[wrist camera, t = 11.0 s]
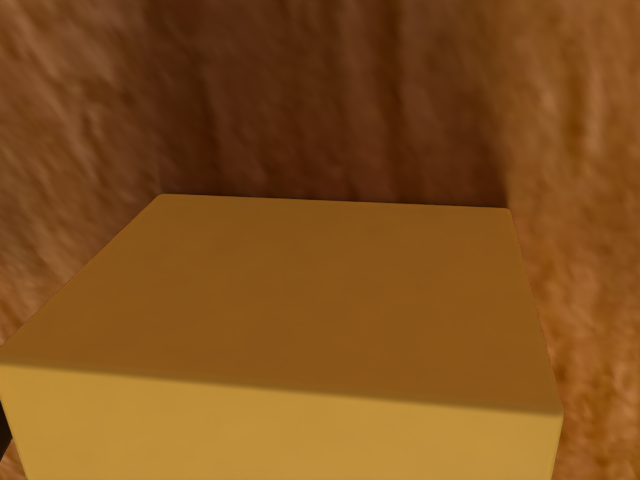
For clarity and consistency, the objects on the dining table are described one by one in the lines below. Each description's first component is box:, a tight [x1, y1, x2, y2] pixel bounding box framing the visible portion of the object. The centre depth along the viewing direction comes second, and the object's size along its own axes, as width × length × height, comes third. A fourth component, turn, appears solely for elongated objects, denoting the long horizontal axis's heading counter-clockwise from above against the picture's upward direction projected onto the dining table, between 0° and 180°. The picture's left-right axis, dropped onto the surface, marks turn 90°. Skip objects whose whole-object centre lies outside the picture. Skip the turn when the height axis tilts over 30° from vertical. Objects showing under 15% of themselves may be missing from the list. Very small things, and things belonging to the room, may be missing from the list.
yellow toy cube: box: [0, 194, 565, 480], centre depth 8 cm, size 5×5×4 cm
